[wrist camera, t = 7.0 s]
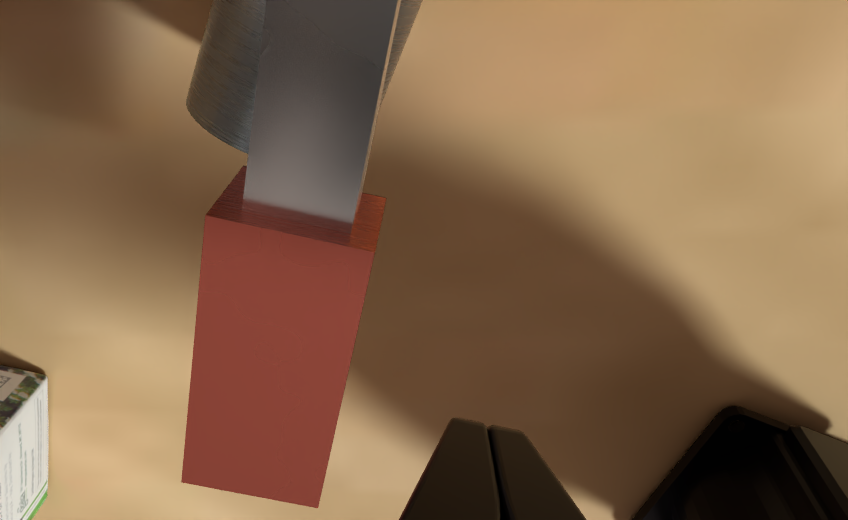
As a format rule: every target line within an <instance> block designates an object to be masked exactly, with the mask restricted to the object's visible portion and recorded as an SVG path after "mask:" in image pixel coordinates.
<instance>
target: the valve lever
mask: <svg viewBox="0 0 848 520" xmlns="http://www.w3.org/2000/svg"><path fill="white" fill-rule="evenodd" d="M400 4H401V0H266V7H265V15H264V24H263V32H262V41H261V50H260V58H259V67H258V75H257V84H256V92H255V101H254V110H253V118H252V127H251V135H250V144H249V152H248V161H247V167H246V166H243V167H242V168H241V170H240V171H239V172H238V174H237V175H236V176H235V178H234V179H233V180H232V181H231V183H230V184H229V185H228V187H227V188H226V189H225V191H224V192H223V193H222V195H221V196H220V197H219V198H218V200H217V201H216V202H215V204H214V205H213V206H212V208H211V209H210V210H209V211H208V213H207V214H206V215H205V226H204V237H203V248H202V259H201V270H200V281H199V293H198V304H197V315H196V326H195V337H194V348H193V359H192V370H191V382H190V393H189V404H188V415H187V426H186V437H185V448H184V459H183V470H182V482H183V483H188V484H193V485H199V486H204V487H209V488H214V489H220V490H225V491H230V492H235V493H241V494H246V495H251V496H257V497H262V498H267V499H272V500H278V501H283V502H288V503H294V504H299V505H304V506H309V507H315V508H318V506H319V501H320V497H321V492H322V488H323V483H324V479H325V474H326V470H327V465H328V461H329V456H330V452H331V447H332V443H333V438H334V434H335V429H336V425H337V420H338V416H339V411H340V407H341V402H342V398H343V393H344V389H345V384H346V380H347V376H348V371H349V367H350V362H351V358H352V353H353V349H354V344H355V340H356V335H357V331H358V326H359V322H360V317H361V313H362V308H363V304H364V299H365V295H366V290H367V286H368V281H369V277H370V272H371V268H372V263H373V259H374V254H375V250H376V245H377V240H378V235H379V231H380V226H381V221H382V216H383V212H384V207H385V202H386V198H383V197H379V196H375V195H370V194H366V193H362V190H363V185H364V180H365V176H366V171H367V166H368V161H369V156H370V151H371V146H372V141H373V136H374V131H375V126H376V121H377V117H378V112H379V107H380V102H381V97H382V92H383V87H384V82H385V77H386V72H387V67H388V63H389V58H390V53H391V48H392V43H393V38H394V33H395V28H396V23H397V18H398V13H399V8H400Z"/></svg>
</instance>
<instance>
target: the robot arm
mask: <svg viewBox="0 0 848 520" xmlns="http://www.w3.org/2000/svg"><path fill="white" fill-rule="evenodd" d="M736 420H739V421H738V422H736V423H734V424H730V423H731V422H733V421H736ZM399 520H586V518H585V517H584V515H583V514H582V513H581V511H580V510H579V509H578V507H577V506H576V504H575V503H574V502H573V500H572V499H571V497H570V496H569V495H568V493H567V492H566V490H565V489H564V488H563V486H562V485H561V483H560V482H559V481H558V479H557V478H556V476H555V475H554V474H553V472H552V471H551V469H550V468H549V467H548V465H547V464H546V463H545V461H544V460H543V458H542V457H541V456H540V454H539V453H538V451H537V450H536V449H535V447H534V446H533V444H532V443H531V442H530V440H529V439H528V437H527V436H526V435H525V434H524V433H523V432H521V431H519V430H515V429H510V428H505V427H500V426H495V425H491V426H489V427H486V426H485V425H484V424H483V423H481V422H476V421H471V420H467V419H462V418H452V419H451V420H450V422H449V424H448V425H447V427H446V429H445V431H444V433H443V435H442V437H441V439H440V441H439V443H438V445H437V447H436V449H435V451H434V453H433V454H432V456H431V458H430V460H429V462H428V464H427V466H426V468H425V470H424V472H423V474H422V476H421V478H420V480H419V482H418V484H417V486H416V487H415V489H414V491H413V493H412V495H411V497H410V499H409V501H408V503H407V505H406V507H405V509H404V511H403V513H402V515H401V517H400V518H399ZM632 520H848V444H847V443H844V442H842V441H839V440H836V439H834V438H831V437H829V436H826V435H823V434H821V433H818V432H816V431H813V430H811V429H808V428H805V427H803V426H789V425H786V424H784V423H781V422H778V421H776V420H773V419H771V418H768V417H765V416H763V415H760V414H758V413H755V412H753V411H750V410H747V409H745V408H742V407H738V406H731V407H727V408H725V409H723V410H722V411H721V412H720V413H718V415H717V416H716V417H715V418H714V420H713V421H712V422H711V423H710V425H709V426H708V427H707V428H706V429H705V431H704V432H703V433H702V434H701V436H700V437H699V438H698V439H697V441H696V442H695V443H694V444H693V445H692V447H691V448H690V449H689V450H688V452H687V453H686V454H685V455H684V456H683V458H682V459H681V460H680V461H679V463H678V464H677V465H676V466H675V468H674V469H673V470H672V471H671V472H670V474H669V475H668V476H667V477H666V479H665V480H664V481H663V482H662V483H661V485H660V486H659V487H658V488H657V490H656V491H655V492H654V493H653V495H652V496H651V497H650V498H649V499H648V501H647V502H646V503H645V504H644V506H643V507H642V508H641V509H640V510H639V512H638V513H637V514H636V515H635V517H634V518H633V519H632Z"/></svg>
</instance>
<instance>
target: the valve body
mask: <svg viewBox="0 0 848 520" xmlns="http://www.w3.org/2000/svg"><path fill="white" fill-rule="evenodd" d="M422 1H423V0H401V4H400V8H399V13H398V18H397V23H396V28H395V33H394V38H393V43H392V48H391V53H390V58H389V63H388V67H387V72H386V77H385V82H384V87H383V92H382V97H381V102H380V105H381V103H382V100H383V98H384V95H385V93H386V90H387V88H388V85H389V83H390V80H391V78H392V75H393V73H394V71H395V68H396V66H397V63H398V61H399V58H400V56H401V53H402V51H403V48H404V46H405V43H406V41H407V38H408V36H409V33H410V31H411V28H412V26H413V23H414V21H415V18H416V16H417V13H418V11H419V8H420V6H421V3H422ZM265 7H266V0H213V1H212V5H211V9H210V13H209V16H208V20H207V24H206V28H205V32H204V35H203V39H202V43H201V47H200V50H199V54H198V58H197V62H196V65H195V69H194V73H193V77H192V81H191V84H190V88H189V92H188V96H187V99H186V105H187V108H188V111H189V112H190V114H191V116H192V117H193V118H194V119H195V120H196V121H197V122H198V123H199V124H200V125H201V126H202V127H203V128H204V129H206V130H207V131H208V132H209V133H211V134H212V135H214V136H215V137H217V138H218V139H220V140H222V141H223V142H225V143H227V144H229V145H230V146H232V147H234V148H236V149H238V150H240V151H242V152H245V153H247V154H248V152H249V144H250V135H251V127H252V118H253V110H254V101H255V92H256V84H257V75H258V67H259V58H260V50H261V41H262V32H263V24H264V15H265ZM379 108H380V107H379Z"/></svg>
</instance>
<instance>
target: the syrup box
mask: <svg viewBox="0 0 848 520" xmlns="http://www.w3.org/2000/svg"><path fill="white" fill-rule="evenodd" d="M47 490H48V377H47V376H46V375H43V374H39V373H35V372H30V371H26V370H22V369H17V368H12V367H6V366H2V365H0V520H31V519H32V518H33V517H34V515H35V514H36V512H37V511H38V510H39V508H40V507H41V505H42V504H43V502H44V501H45V499H46V497H47Z"/></svg>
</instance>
